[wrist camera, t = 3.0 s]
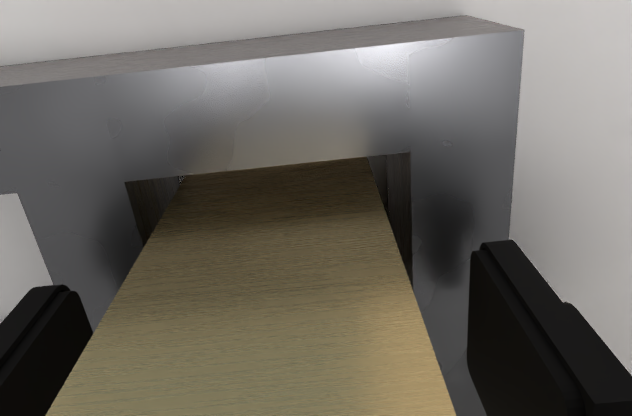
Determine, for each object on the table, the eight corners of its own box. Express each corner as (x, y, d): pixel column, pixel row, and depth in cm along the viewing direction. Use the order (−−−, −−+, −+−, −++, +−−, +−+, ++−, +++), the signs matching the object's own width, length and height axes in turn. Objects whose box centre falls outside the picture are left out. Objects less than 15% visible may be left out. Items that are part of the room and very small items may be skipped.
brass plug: (359, 136, 13) (476, 474, 4) (368, 273, 15) (463, 708, 6) (198, 153, 13) (-15, 519, 4) (227, 287, 15) (118, 735, 6)
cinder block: (466, 15, 12) (524, 29, 9) (457, 336, 16) (494, 423, 13) (-247, 93, 12) (-434, 133, 9) (-74, 387, 17) (-161, 483, 14)
